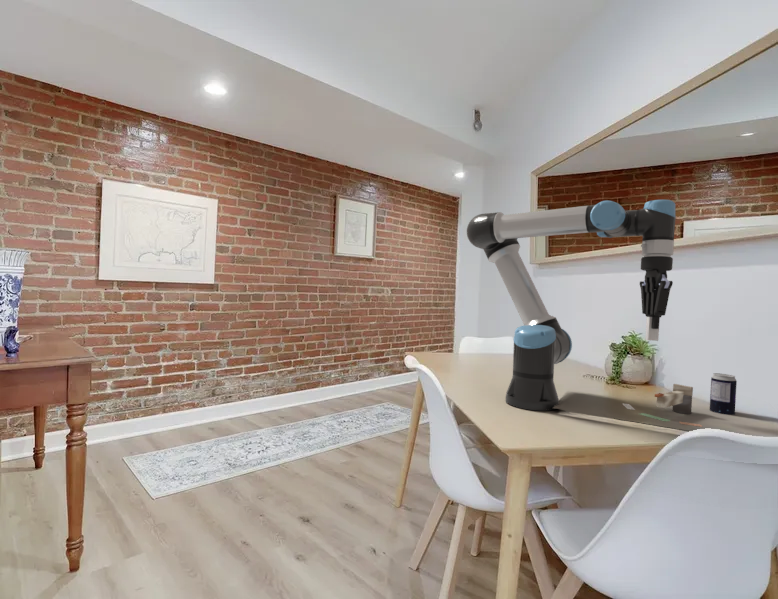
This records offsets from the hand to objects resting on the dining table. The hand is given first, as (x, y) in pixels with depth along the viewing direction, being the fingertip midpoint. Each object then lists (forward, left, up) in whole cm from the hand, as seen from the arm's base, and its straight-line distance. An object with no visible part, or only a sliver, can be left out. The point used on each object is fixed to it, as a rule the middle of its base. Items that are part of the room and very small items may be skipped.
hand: (651, 340), depth 119 cm
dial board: (+2, -2, -21) cm, 21 cm away
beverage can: (+18, +12, -22) cm, 31 cm away
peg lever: (+5, -2, -20) cm, 21 cm away
